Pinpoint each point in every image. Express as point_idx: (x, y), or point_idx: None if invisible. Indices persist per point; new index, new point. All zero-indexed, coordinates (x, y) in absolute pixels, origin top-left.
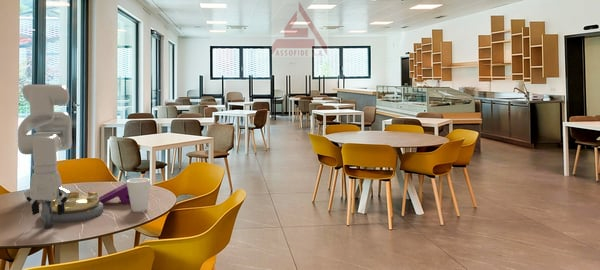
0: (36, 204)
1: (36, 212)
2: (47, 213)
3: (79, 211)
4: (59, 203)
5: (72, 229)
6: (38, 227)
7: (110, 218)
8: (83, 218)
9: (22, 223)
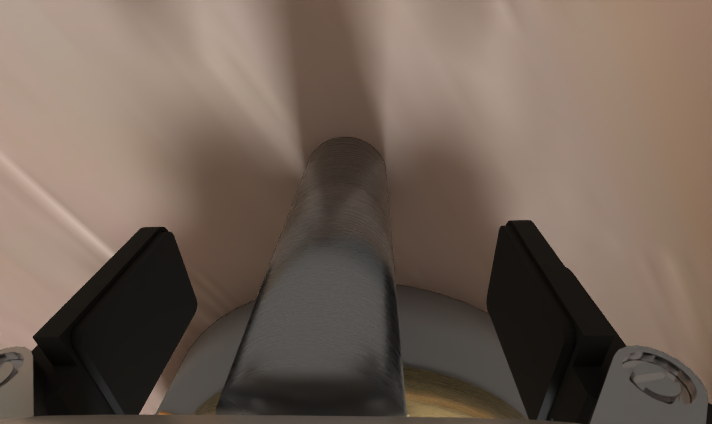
0: (542, 376)
1: (499, 269)
2: (297, 224)
3: (206, 402)
4: (22, 370)
5: (70, 130)
6: (438, 166)
7: None
8: (192, 348)
9: (644, 259)
